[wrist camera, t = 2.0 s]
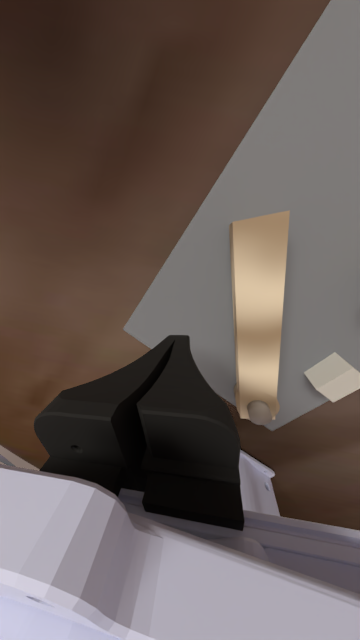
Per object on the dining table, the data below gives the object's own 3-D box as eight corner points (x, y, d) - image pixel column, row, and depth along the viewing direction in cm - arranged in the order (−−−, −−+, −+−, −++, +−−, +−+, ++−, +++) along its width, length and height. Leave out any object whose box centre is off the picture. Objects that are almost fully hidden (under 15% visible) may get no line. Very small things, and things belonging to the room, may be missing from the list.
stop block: (350, 365, 14) (371, 382, 13) (318, 384, 16) (333, 402, 14) (334, 352, 14) (353, 367, 12) (303, 372, 15) (316, 389, 14)
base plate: (562, 254, 10) (596, 254, 10) (269, 422, 20) (272, 431, 19) (339, -9, 8) (356, -40, 7) (127, 325, 18) (122, 329, 17)
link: (271, 403, 17) (282, 432, 15) (234, 402, 18) (239, 430, 15) (281, 215, 11) (305, 205, 8) (224, 226, 12) (228, 220, 9)
